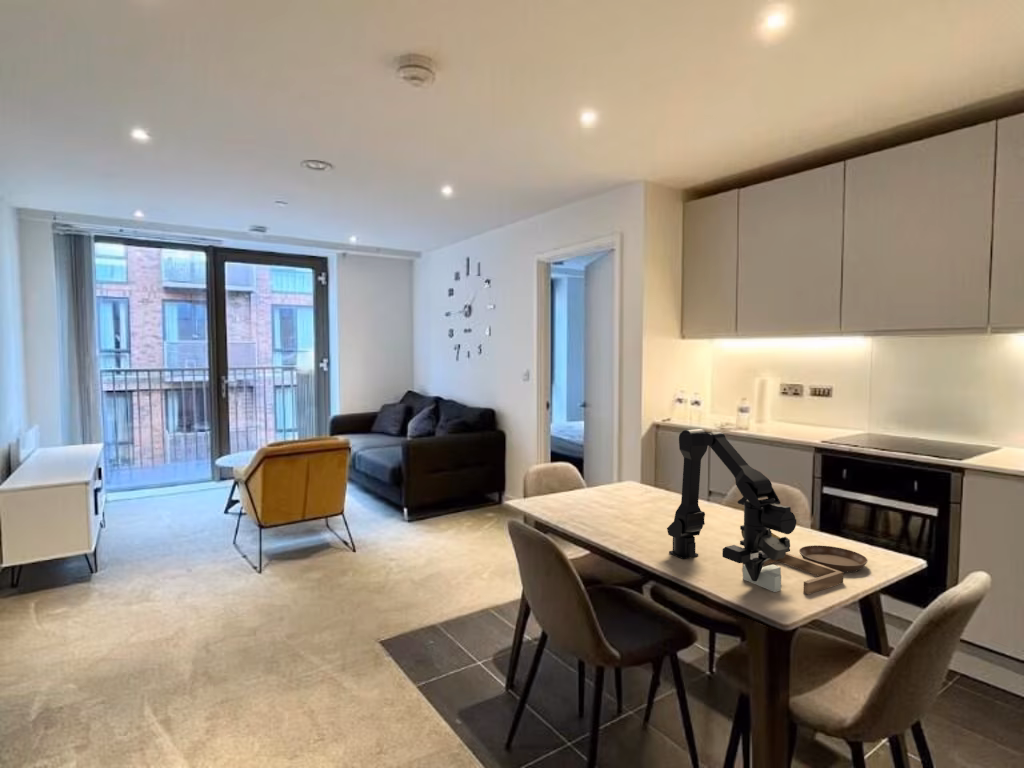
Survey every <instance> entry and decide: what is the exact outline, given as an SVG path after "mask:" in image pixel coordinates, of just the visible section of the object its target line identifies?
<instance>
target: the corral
mask: <svg viewBox="0 0 1024 768" xmlns="http://www.w3.org/2000/svg"><path fill="white" fill-rule="evenodd" d="M777 562H779V563H782V564H785V565H788V566H790V567H791V568H792V567H793V568H795V569H798V570H800V571H803V572H806V573H809V574H812V575H814V576H818V577H814V578H812V579H811V578H810V579H809V580H805V581H803V591H802V593H803V594H806V595H811V594H813V593H817V592H820V591H823V590H825V589H829V588H832V587H835V586H838V585H842V584H844V572H841V571H838V570H835V569H832V568H829V567H827V566H824V565H821V564H818V563H815V562H812V561H809V560H806V559H804V558H803V557H800V556H797V555H794V554H790V553H789V552H786V554H785V556H784V558H783V559H782V558H780V559H777V560H772V559H769V560H767V561H766V562H765V563H764V565H763V566H767V565H771V564H773V563H777ZM743 565H744V563H742V566H743Z"/></svg>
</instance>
